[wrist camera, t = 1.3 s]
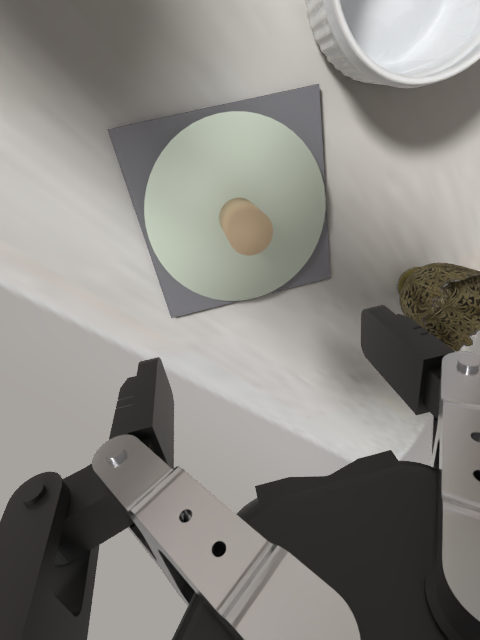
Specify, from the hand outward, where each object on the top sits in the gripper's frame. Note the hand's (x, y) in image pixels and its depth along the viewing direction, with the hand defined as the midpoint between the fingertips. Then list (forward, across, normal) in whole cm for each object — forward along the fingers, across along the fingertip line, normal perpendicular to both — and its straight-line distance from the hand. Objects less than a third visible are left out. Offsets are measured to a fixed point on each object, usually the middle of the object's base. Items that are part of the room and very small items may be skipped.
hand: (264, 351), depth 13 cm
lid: (+18, -2, -1) cm, 19 cm away
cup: (+20, -19, +9) cm, 29 cm away
